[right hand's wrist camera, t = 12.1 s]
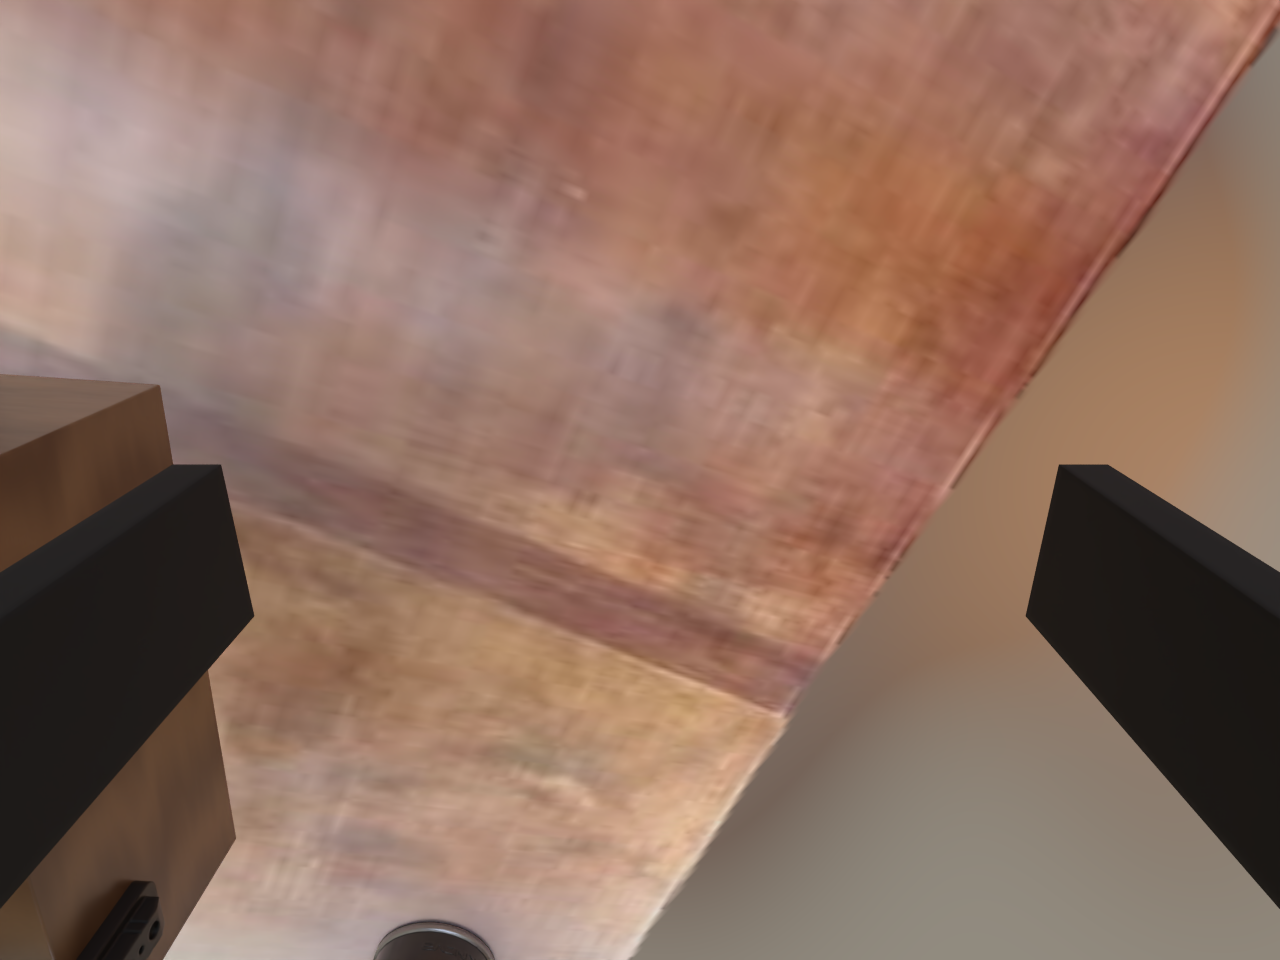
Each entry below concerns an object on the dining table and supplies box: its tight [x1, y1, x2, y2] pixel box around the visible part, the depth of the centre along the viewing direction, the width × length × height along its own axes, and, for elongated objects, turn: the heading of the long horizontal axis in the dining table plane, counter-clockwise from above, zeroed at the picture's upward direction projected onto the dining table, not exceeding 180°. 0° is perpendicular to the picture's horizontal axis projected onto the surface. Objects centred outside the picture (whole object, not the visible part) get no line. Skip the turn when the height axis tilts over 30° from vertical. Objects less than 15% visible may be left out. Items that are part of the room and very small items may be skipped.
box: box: [0, 374, 236, 960], centre depth 29 cm, size 23×6×11 cm, turn 176°
